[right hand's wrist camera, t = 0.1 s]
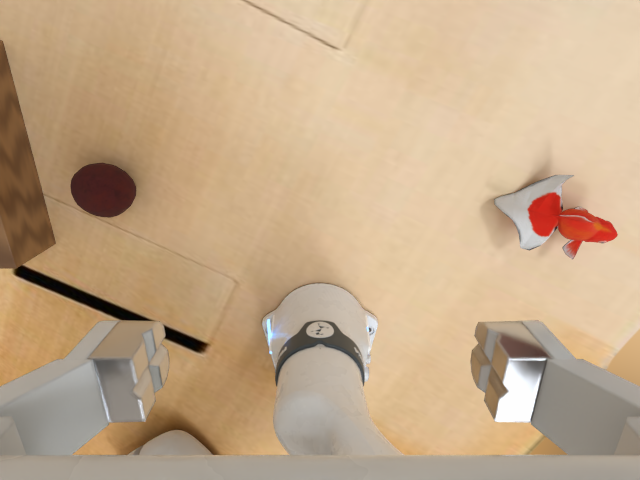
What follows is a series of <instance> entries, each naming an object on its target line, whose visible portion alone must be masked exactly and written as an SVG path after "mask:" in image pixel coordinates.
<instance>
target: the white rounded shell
mask: <svg viewBox="0 0 640 480" xmlns="http://www.w3.org/2000/svg"><path fill="white" fill-rule="evenodd" d="M128 455H213V454H212V453H211V452H210V451H209V450H208V449H207V448H206V447H205V446H204V445H203V444H201V443H200V442H199V441H198V440H197V439H196V438H194V437H193V436H192V435H190V434H189V433H187V432H185V431H182V430H172V431H168V432H165V433H163V434H161V435H159V436H157V437H155V438H154V439H152V440H150V441H148V442H147V443H146V444H145V445H142V446H140V447H139V448H137V449H135V450H134V451H132V452H131V453H129V454H128Z"/></svg>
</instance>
